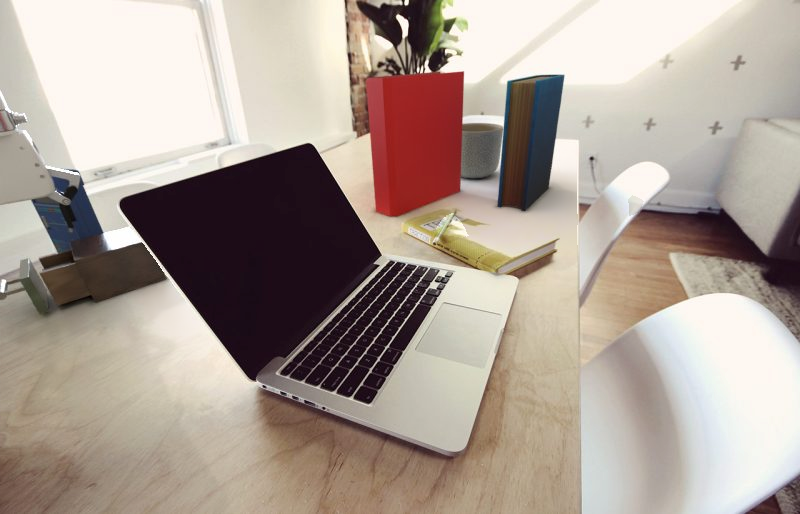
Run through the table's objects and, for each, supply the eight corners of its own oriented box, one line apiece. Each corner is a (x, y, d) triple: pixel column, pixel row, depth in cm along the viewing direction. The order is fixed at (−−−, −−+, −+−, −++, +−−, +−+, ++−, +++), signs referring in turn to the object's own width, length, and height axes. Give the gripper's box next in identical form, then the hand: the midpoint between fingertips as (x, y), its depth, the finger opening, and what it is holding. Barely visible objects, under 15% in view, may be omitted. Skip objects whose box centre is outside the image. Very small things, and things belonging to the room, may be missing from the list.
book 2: (522, 182, 119) (533, 74, 105) (551, 185, 114) (567, 73, 100) (492, 206, 101) (500, 80, 87) (525, 211, 97) (540, 80, 83)
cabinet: (95, 302, 67) (74, 260, 63) (88, 281, 74) (69, 241, 70) (166, 278, 73) (151, 239, 69) (154, 261, 80) (140, 224, 76)
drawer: (7, 324, 60) (-16, 289, 57) (9, 301, 67) (-11, 267, 64) (114, 290, 69) (99, 257, 65) (107, 272, 75) (93, 241, 72)
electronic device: (63, 269, 78) (13, 173, 69) (87, 258, 83) (44, 166, 73) (97, 274, 76) (50, 175, 67) (120, 262, 80) (80, 168, 71)
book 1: (439, 186, 118) (440, 71, 103) (460, 191, 113) (464, 71, 98) (373, 210, 102) (362, 78, 87) (393, 217, 96) (386, 78, 82)
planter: (438, 173, 131) (438, 126, 124) (477, 165, 138) (479, 121, 131) (468, 185, 118) (470, 133, 111) (510, 176, 125) (514, 127, 118)
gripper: (55, 116, 62) (95, 214, 70) (-106, 129, 52) (-38, 242, 60) (57, 120, 57) (101, 226, 65) (-120, 136, 47) (-44, 258, 55)
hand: (34, 234), depth 63 cm, fingers open, 9 cm apart
